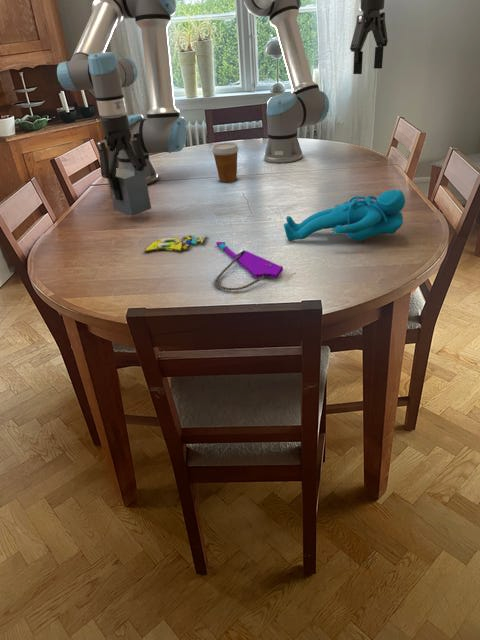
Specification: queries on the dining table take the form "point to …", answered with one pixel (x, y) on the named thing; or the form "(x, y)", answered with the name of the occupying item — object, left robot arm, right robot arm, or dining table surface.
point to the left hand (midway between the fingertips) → (129, 195)
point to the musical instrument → (250, 266)
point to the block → (131, 192)
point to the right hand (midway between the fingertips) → (367, 71)
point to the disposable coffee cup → (226, 161)
